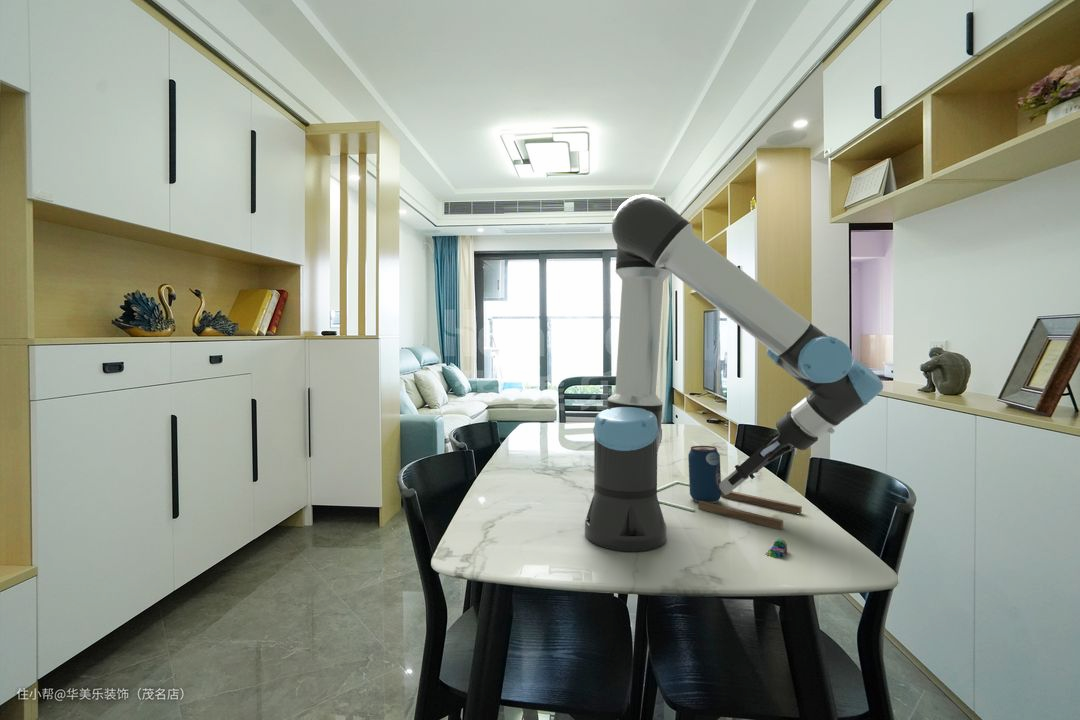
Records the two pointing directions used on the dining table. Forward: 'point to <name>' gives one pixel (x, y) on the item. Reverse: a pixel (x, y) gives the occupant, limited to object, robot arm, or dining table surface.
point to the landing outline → (673, 503)
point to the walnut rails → (747, 515)
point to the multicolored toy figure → (778, 549)
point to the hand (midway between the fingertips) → (722, 489)
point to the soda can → (704, 474)
